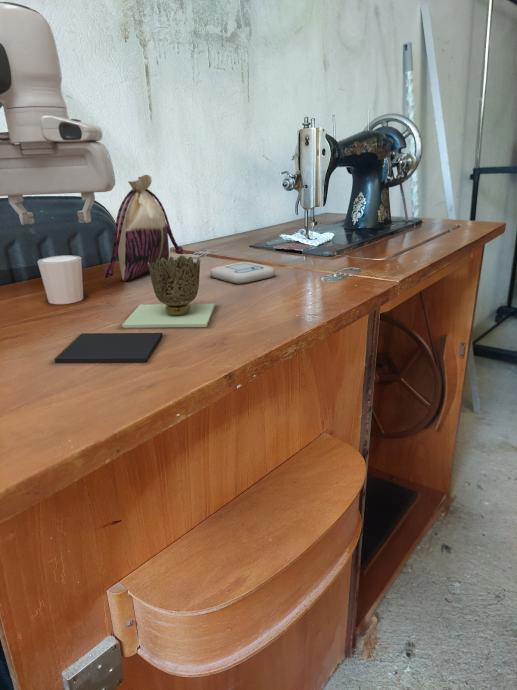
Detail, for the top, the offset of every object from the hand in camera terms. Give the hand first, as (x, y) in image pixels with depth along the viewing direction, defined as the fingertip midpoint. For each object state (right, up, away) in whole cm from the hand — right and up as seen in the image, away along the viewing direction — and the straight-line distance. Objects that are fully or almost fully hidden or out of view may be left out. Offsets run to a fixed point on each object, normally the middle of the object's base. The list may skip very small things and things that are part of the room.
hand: (56, 223), depth 83 cm
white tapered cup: (0, -12, +4) cm, 13 cm away
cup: (+21, -15, -6) cm, 26 cm away
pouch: (+10, -5, +23) cm, 25 cm away
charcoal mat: (+14, -20, -18) cm, 30 cm away
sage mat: (+19, -15, -6) cm, 25 cm away
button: (+29, -6, +17) cm, 35 cm away
